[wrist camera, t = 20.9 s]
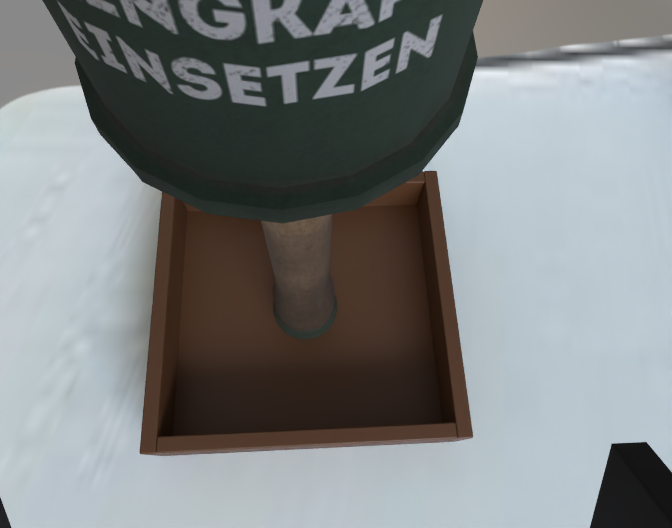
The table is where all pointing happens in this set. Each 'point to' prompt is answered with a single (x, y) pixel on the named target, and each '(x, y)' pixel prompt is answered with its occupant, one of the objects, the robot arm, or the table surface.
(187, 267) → the holder
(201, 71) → the potato masher grenade
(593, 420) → the table surface
